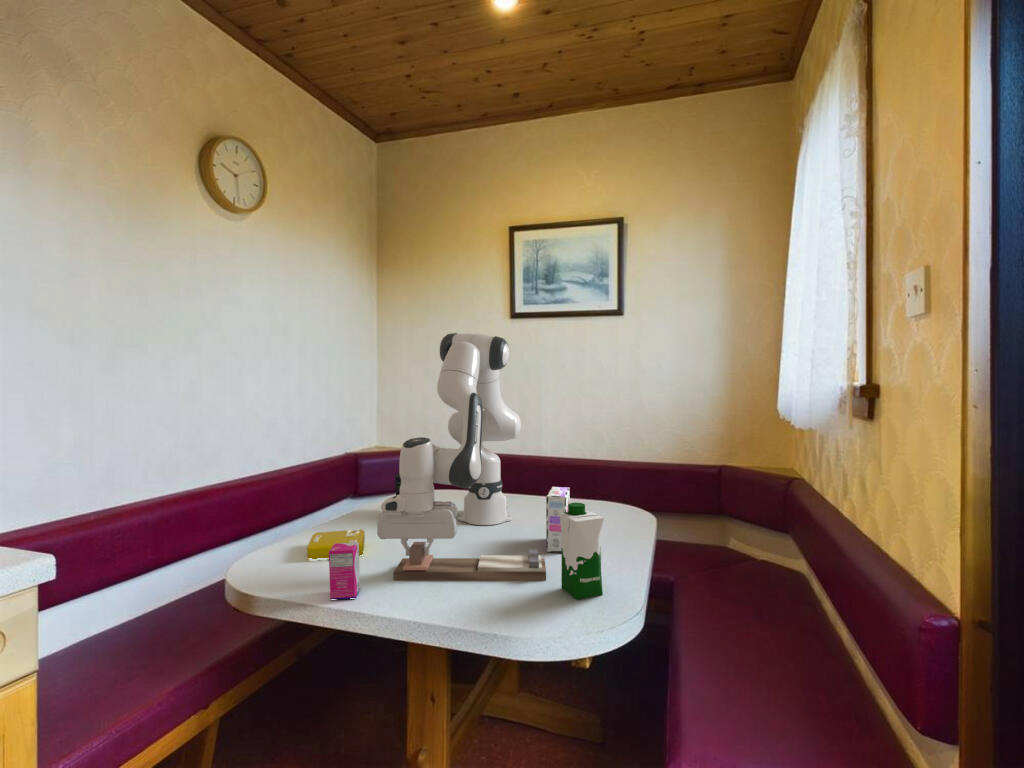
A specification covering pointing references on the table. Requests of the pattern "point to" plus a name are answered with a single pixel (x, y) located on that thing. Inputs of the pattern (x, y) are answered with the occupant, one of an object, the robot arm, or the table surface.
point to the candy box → (555, 516)
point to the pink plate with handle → (417, 558)
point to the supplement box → (344, 570)
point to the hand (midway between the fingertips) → (417, 555)
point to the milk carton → (581, 552)
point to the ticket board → (479, 568)
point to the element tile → (333, 542)
